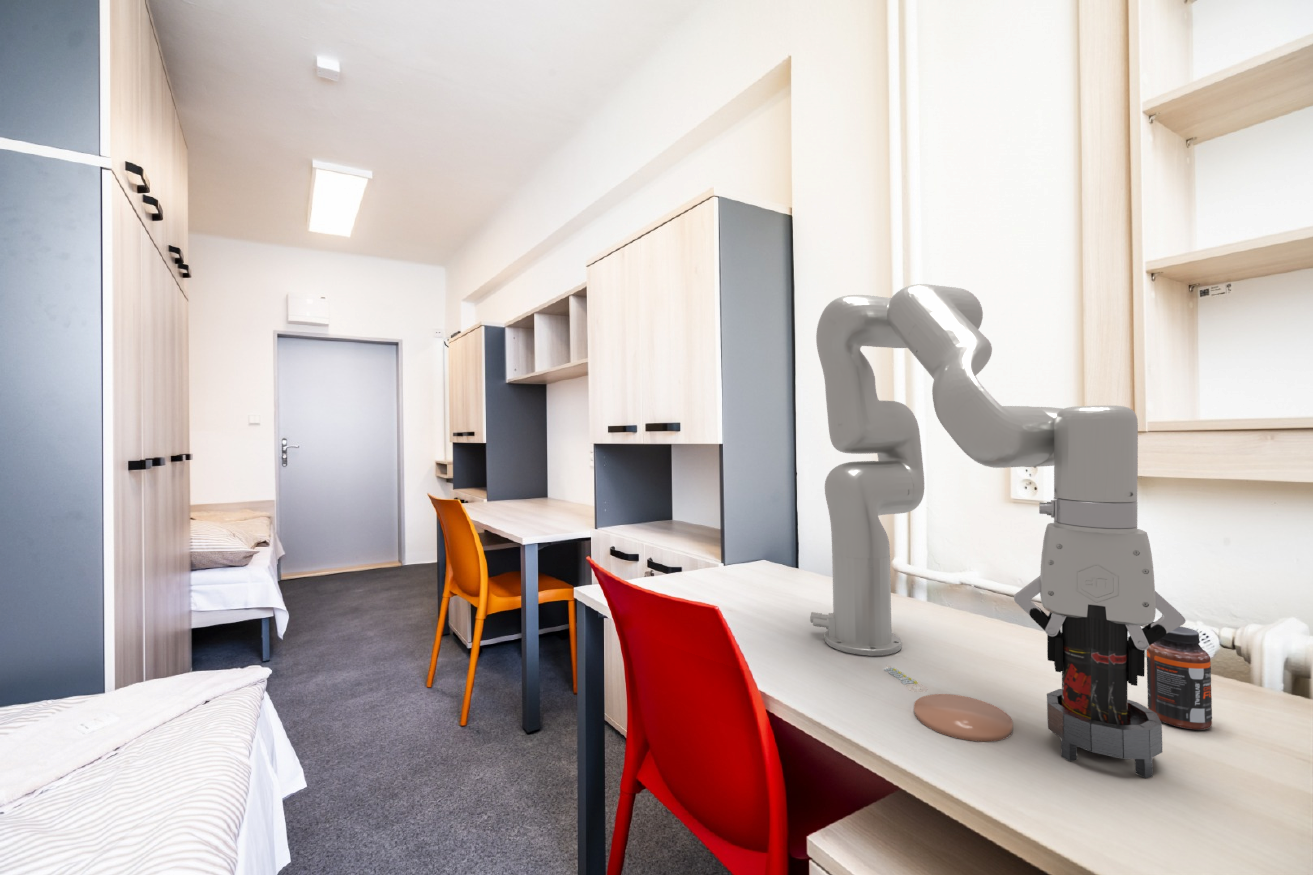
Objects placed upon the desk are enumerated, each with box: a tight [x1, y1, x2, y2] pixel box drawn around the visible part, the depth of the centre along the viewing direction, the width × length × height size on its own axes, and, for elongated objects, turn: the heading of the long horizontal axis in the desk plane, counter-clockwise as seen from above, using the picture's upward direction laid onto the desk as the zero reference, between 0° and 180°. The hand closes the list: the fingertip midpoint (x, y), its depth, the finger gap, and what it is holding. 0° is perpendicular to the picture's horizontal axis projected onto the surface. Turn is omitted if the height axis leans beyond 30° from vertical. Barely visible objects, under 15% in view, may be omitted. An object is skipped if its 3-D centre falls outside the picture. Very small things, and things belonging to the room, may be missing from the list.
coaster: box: [913, 693, 1014, 743], centre depth 73 cm, size 11×11×1 cm
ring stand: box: [1046, 688, 1163, 779], centre depth 65 cm, size 10×10×5 cm
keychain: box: [883, 664, 928, 693], centre depth 86 cm, size 10×1×3 cm
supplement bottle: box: [1146, 625, 1213, 731], centre depth 72 cm, size 6×6×11 cm
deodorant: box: [1061, 604, 1129, 725], centre depth 66 cm, size 6×6×15 cm
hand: (1093, 672), depth 66 cm, fingers closed on deodorant, 6 cm apart
